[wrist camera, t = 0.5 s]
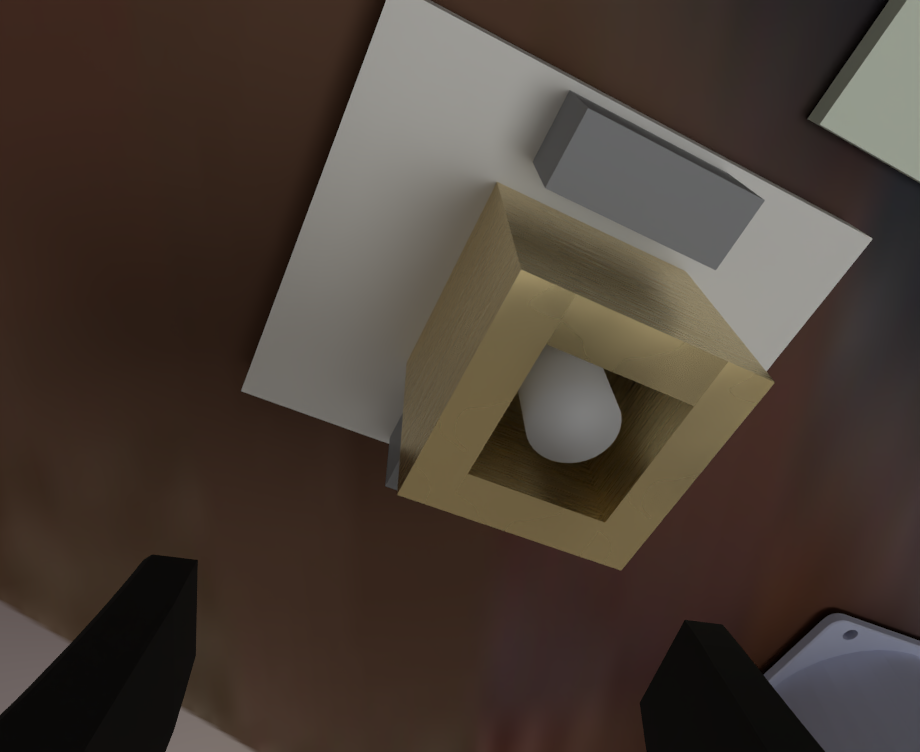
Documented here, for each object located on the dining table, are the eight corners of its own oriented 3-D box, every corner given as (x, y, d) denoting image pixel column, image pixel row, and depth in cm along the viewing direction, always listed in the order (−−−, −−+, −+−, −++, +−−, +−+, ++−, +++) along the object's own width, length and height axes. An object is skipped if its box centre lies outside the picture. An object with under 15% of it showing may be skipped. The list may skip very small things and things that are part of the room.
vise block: (846, 222, 17) (1010, 327, 12) (627, 505, 22) (683, 664, 17) (395, -18, 14) (374, -7, 9) (251, 367, 19) (186, 511, 14)
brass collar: (685, 271, 16) (774, 382, 12) (578, 430, 19) (621, 570, 14) (497, 181, 15) (520, 269, 11) (406, 362, 17) (397, 494, 13)
